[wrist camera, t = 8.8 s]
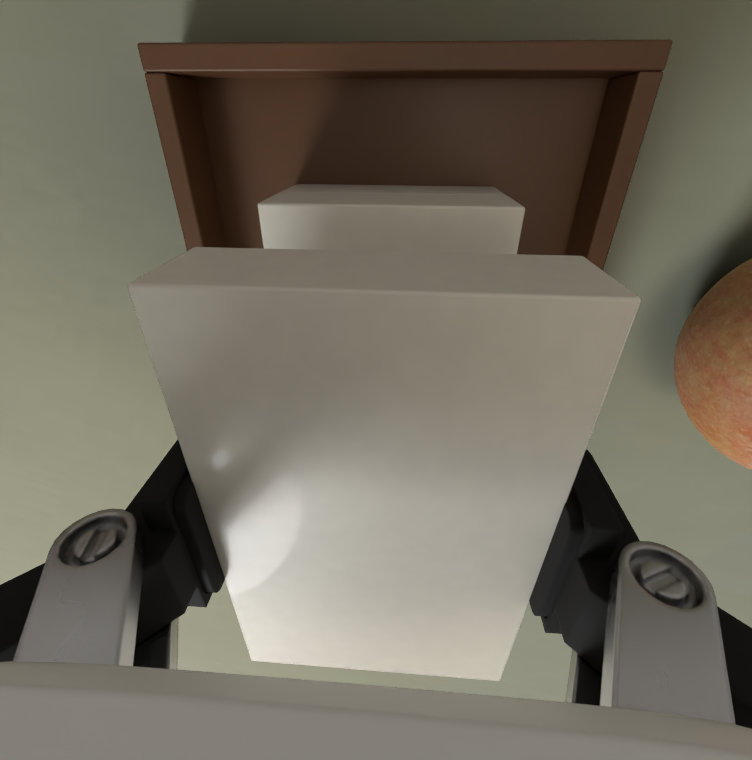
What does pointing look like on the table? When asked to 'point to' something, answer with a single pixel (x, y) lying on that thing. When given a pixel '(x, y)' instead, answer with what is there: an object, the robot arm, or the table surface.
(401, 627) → the white book
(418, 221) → the white book upper
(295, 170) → the book tray
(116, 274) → the table surface
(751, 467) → the fruit
